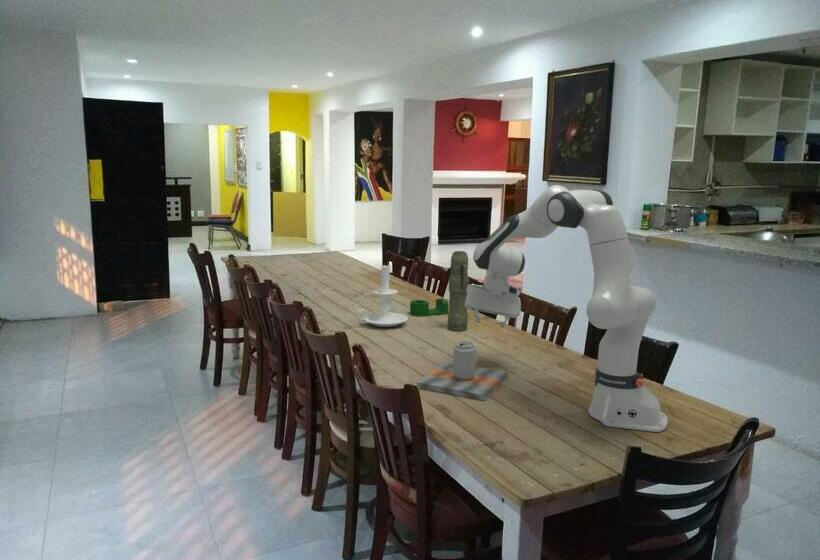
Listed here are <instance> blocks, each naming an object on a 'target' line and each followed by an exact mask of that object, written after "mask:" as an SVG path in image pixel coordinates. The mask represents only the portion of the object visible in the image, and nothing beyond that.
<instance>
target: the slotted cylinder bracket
mask: <svg viewBox="0 0 820 560" xmlns="http://www.w3.org/2000/svg"><path fill="white" fill-rule="evenodd" d="M409 303H410V305H409V315H410V316H412V317H416V318H417V317H418V318H419V317H421V318H423V316H424V317H433V315H435V316H444V315H445V314H446V315H448V313H449V301H448V300H444V299H443V298H436V299H435V307H433V308H429V307H430V302H429V300H424V299H413V300H410V302H409ZM443 314H444V315H443Z"/></svg>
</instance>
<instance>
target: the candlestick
mask: <svg viewBox="0 0 820 560" xmlns="http://www.w3.org/2000/svg"><path fill="white" fill-rule="evenodd" d="M390 267H391V265H382V266H381V271H380V272H381V276H380V277H381V284H380V285H381V286H380V288H376V289H374V290H373V291H372V293H375V294H377V295H380V296H381V299H380V300H379V302H378V303H379V304H378V305H379V308H380V310H382V311H381V312H373V313H372V312H371V313H367V311H366V309H356V316H357V319H359V321H360V323H361V324H370V325H372V326H375V327H376V326H377V327H382V328H385V327H396V326H399V325H401V324H403V323H404V322H406V321H408V320H409V319H408V316H407V315H405V314H403V313H398V312H389V310H390V309H391V308H392V305H393V303H392V300H391V298H390V296H392V295H394V294H398V293H399V290H397V289H393V288H390V280H391V278H390V277H391V276H390V274H391V270H390V269H391V268H390ZM361 312H364V315H363V317H360V313H361Z"/></svg>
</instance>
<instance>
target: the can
mask: <svg viewBox="0 0 820 560" xmlns="http://www.w3.org/2000/svg"><path fill="white" fill-rule="evenodd" d="M476 350H477V348H476V347H475V344H474V342H471V341H465V340H464V341H457V342H456V343H455V346H453V356H452V357H453V358H452V361H453V362H452V363H453V375H454V376H455V378H457V379H459V380H470V379H472V378H473V377H474V376H475V367H476V356H477V355H476V353H477V352H476Z"/></svg>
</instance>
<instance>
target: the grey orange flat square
mask: <svg viewBox="0 0 820 560" xmlns="http://www.w3.org/2000/svg"><path fill="white" fill-rule="evenodd" d="M508 374H509V372H508V371H503V370H496V369H491V368H490V369H489V368H484V367H479V366H475V376H474V377H473V378H472V379H470V380H459V379H457V378H455V376H454V375H453V362H450V361H443V362H442V363H441V364H439V365H438V366H437V367H435V368H434V369H432V370H431V371H430V372H428V373H427V374H426V375H424V376H423V377H422V378H420V379H419V380H418V381H416V387H417V386H418V387H419V388H418V389H420V388H424V389H423V390H425V389H430V390H434V391H433V392H435V391H438V392H437V393H441V392H443V393H442V394H446V393H447V395H451V394H452V396H457V397H463V398H466V399H467V398H468V399H471V400H472V399H473V400H478V401H483V402H485V401H487V400H488V398H489V397H490V396H491V395H492V394H493V393H494V392H495V391H496V390H497V389H498V388H499V387H500V386H501V385H502V384H503V383H504V382H505V381H506V380H507V379H508V376H509V375H508ZM430 390H429V391H430Z"/></svg>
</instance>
